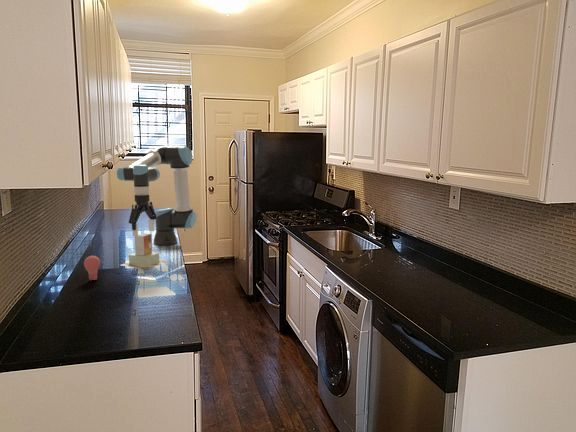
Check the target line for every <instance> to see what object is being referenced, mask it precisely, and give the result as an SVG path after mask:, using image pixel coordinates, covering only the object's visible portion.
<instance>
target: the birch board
mask: <svg viewBox="0 0 576 432" xmlns="http://www.w3.org/2000/svg"><path fill="white" fill-rule="evenodd" d="M168 261H169V260H166V259H159V262H158V263H155V264H152V265H150V266H142V265H133V264H129V261H128V262H124V263H122V264H120V265H119V267H120V266H123V267H131V268H136V269H137V268H138V269H140V268H141V269H146V270H147V269H148V270H149V269H151V268H153V267H156V266H158V265H161V264H163V263H166V262H168Z"/></svg>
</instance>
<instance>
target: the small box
mask: <svg viewBox="0 0 576 432" xmlns="http://www.w3.org/2000/svg"><path fill="white" fill-rule="evenodd" d="M152 237H153V236H152V233H140V234H138V236H134V253H135V255H143V256H144V255H147V254H149V253H152V252H153V247H152V246H153V244H152V243H153V241H152V240H153V239H152Z"/></svg>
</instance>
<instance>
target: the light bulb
mask: <svg viewBox="0 0 576 432" xmlns="http://www.w3.org/2000/svg"><path fill="white" fill-rule="evenodd" d="M100 266H101V260H100V258H99V257H98V256H96V255H89V256H88V257H86V258H85V259H84V262H83V267H84V268H85V270H86V271H87V274H88V279H89V281H92V280H94V281H95V280H98V271H99V269H100Z"/></svg>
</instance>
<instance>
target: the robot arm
mask: <svg viewBox="0 0 576 432" xmlns="http://www.w3.org/2000/svg"><path fill="white" fill-rule="evenodd" d="M192 163H193V154H192V151H191V149H190V148H189V147H188V146H187V145H162V146H157V147H156V148H153V149H151V150H150V151H148V152H147V154H145V156H143V157H141V158H139V159H138V160H136V161H134V162H133V163H131V164H130V165H127V166H119V167H118V168H117V170H116V176H117V179H118V180H119V181H124V182H133V188H134V191H133V192H134V202H135V203H136V204H132V205H131V211H130V215H129V219H128V224H130V225H131V231H132V236H133V237H135V236H138V235H139V229H138V228H139V227H138V226H139V225H138V223H137V222H138V220H139V218H140V216H141V214H142V213H145V214H146V215H147V217H148V218H149V219H148V231H149V232H155V235H154V238H153V245H156V246H171V244H172V245H176V244H177V243H178V238H177V235H176V232H175V229H182V230H183V229H185V230H188V229H189V230H190V229H193V228H194V227H195V225H196V222H197V217H198V216H197V212H196V211H195V210H194V209H193V206H191V201H190V190H189V189H190V187H189V177H188V170H189V168H190V165H191V164H192ZM159 165H170V169H171V170H172V171H173V180H174V181H173V182H174V192H175V203H176V205H175V207H167V208H160V209H157V210H156V211H155V209H154V205H153V202H152V201H150V182H155V181H157V180H158V179H160V176H161V173H160V170H159V169H158V168H156V166H159ZM175 243H176V244H175Z"/></svg>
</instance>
